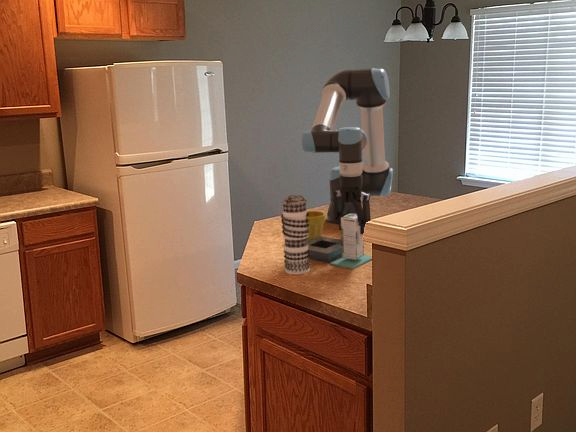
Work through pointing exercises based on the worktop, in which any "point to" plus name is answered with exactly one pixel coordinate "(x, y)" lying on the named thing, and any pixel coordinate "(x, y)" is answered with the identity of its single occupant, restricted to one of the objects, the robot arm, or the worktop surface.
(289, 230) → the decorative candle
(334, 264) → the mat
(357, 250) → the syrup box
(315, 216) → the plant pot
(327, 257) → the grey square tray
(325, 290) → the worktop surface
